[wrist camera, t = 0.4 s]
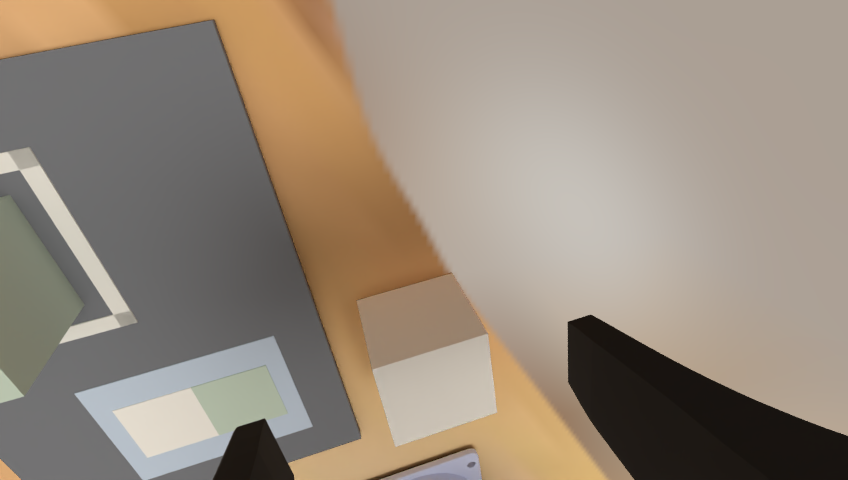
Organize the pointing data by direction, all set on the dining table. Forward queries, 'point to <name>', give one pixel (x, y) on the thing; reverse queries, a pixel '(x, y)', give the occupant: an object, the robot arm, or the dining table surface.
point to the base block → (29, 303)
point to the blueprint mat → (158, 267)
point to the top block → (428, 358)
